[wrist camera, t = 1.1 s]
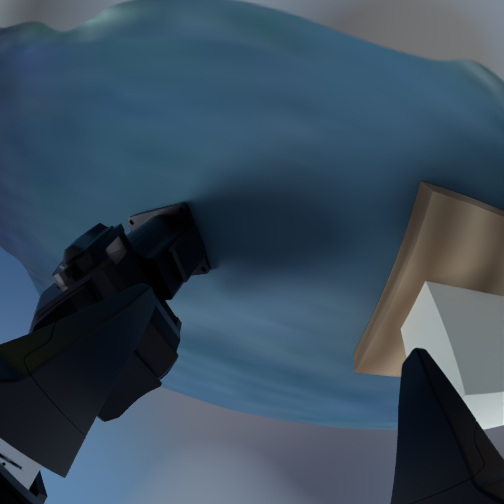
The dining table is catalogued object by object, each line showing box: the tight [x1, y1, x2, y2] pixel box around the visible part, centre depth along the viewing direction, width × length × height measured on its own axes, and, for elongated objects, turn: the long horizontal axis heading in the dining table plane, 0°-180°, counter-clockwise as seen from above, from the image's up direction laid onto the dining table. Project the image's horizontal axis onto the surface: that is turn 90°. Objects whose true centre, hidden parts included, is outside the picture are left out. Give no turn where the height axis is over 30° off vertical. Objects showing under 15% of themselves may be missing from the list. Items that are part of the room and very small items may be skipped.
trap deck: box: [354, 181, 504, 377], centre depth 16 cm, size 26×18×6 cm
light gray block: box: [401, 281, 504, 429], centre depth 13 cm, size 14×5×10 cm, turn 85°
